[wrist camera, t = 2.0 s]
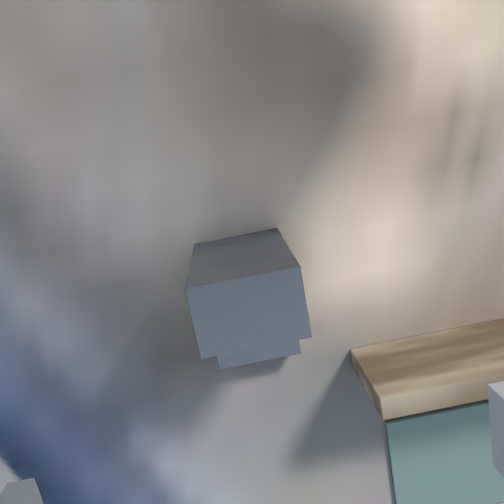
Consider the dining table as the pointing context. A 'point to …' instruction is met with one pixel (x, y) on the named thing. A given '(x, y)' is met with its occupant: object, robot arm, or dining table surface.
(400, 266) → the dining table surface
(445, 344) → the wooden corner frame
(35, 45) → the dining table surface
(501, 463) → the robot arm
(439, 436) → the mat
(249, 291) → the angle block
